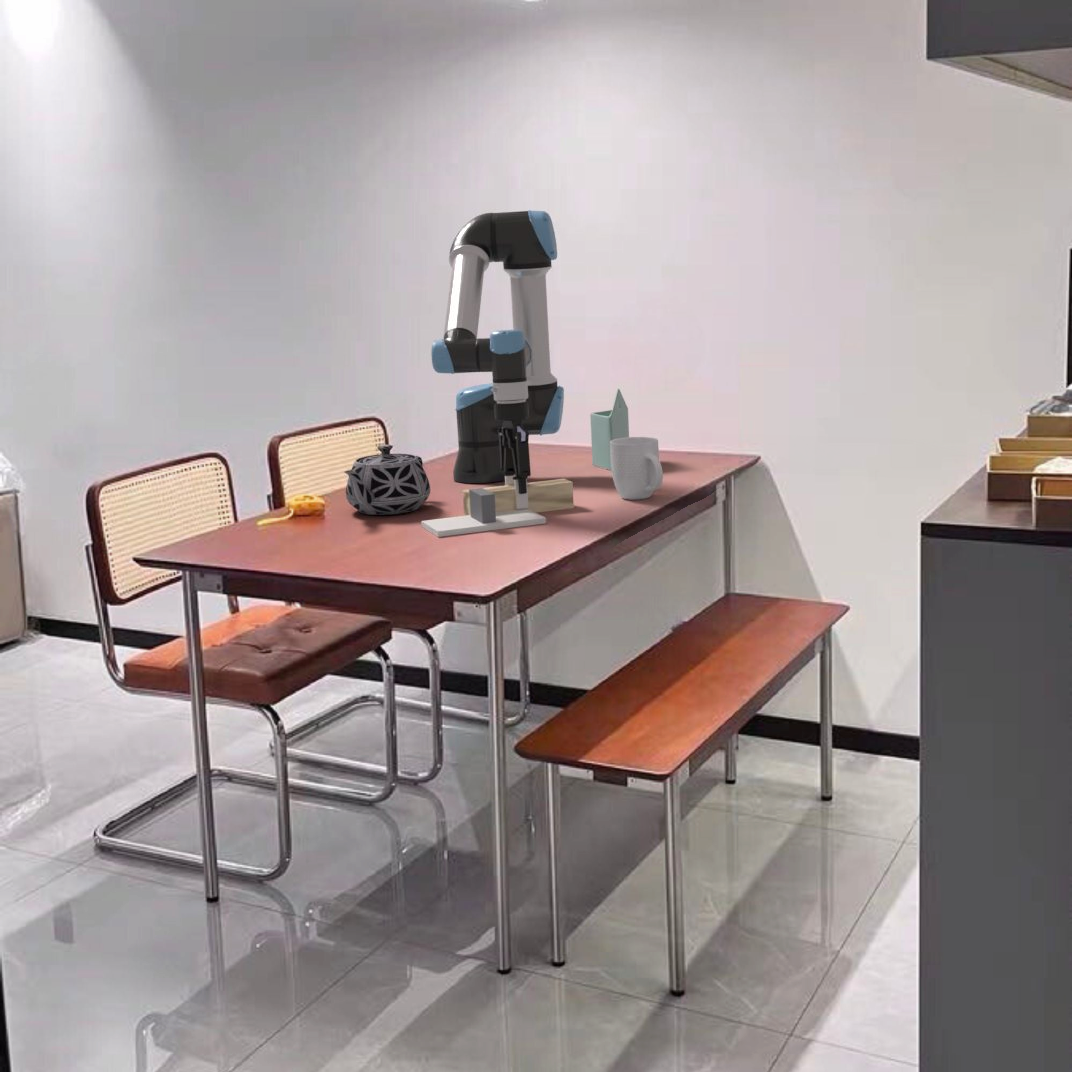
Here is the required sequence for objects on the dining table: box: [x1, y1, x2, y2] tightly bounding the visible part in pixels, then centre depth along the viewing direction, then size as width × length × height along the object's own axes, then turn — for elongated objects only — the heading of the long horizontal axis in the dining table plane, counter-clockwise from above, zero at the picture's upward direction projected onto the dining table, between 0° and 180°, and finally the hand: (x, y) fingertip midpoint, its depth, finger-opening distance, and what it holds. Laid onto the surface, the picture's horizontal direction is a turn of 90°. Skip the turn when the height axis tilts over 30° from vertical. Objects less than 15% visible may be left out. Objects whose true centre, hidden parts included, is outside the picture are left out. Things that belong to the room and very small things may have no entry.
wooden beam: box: [462, 478, 575, 516], centre depth 325 cm, size 5×24×6 cm, turn 110°
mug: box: [610, 436, 664, 501], centre depth 333 cm, size 15×11×13 cm
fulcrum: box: [421, 487, 547, 538], centre depth 314 cm, size 12×24×7 cm, turn 111°
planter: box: [589, 388, 630, 472], centre depth 377 cm, size 16×8×20 cm, turn 162°
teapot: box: [343, 444, 431, 516], centre depth 333 cm, size 19×31×15 cm, turn 153°
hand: (517, 506), depth 326 cm, fingers open, 5 cm apart
